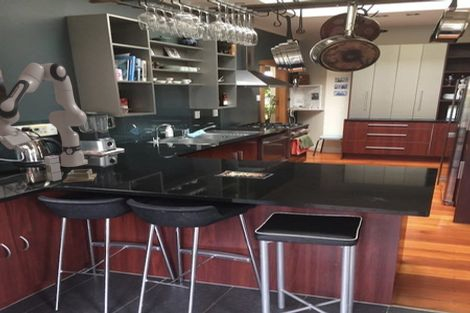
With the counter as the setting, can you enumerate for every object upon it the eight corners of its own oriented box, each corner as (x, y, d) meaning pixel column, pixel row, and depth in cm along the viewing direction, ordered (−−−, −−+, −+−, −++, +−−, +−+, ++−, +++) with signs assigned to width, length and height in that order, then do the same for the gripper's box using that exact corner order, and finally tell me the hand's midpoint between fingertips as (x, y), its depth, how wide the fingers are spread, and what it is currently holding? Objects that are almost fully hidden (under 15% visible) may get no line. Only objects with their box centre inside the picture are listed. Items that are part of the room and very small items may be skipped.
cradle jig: (69, 176, 204) (68, 169, 203) (96, 175, 207) (96, 168, 206) (63, 182, 191) (62, 175, 190) (92, 180, 194) (91, 173, 193)
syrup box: (62, 179, 199) (59, 155, 196) (52, 181, 194) (49, 157, 191) (56, 178, 202) (53, 154, 199) (47, 180, 197) (43, 156, 194)
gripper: (0, 132, 180) (21, 149, 183) (21, 128, 200) (40, 143, 203) (-7, 140, 180) (14, 157, 183) (14, 135, 200) (33, 151, 203)
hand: (28, 150), depth 193 cm, fingers open, 8 cm apart
